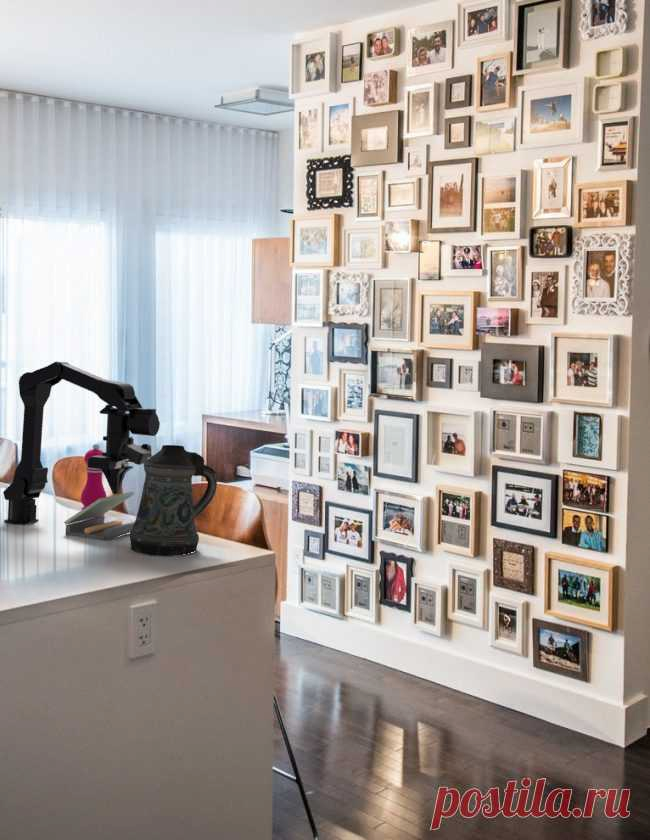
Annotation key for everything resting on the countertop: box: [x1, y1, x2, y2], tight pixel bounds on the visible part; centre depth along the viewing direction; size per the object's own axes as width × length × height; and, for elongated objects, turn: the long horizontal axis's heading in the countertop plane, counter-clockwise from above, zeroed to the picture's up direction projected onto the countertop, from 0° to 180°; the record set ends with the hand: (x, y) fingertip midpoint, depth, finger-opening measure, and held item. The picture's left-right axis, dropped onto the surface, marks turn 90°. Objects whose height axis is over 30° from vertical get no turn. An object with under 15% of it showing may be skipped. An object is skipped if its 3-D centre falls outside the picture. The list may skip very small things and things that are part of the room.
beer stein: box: [129, 444, 218, 557], centre depth 243 cm, size 16×19×25 cm
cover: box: [63, 491, 135, 526], centre depth 259 cm, size 12×16×1 cm
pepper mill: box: [80, 443, 108, 516], centre depth 285 cm, size 7×7×20 cm
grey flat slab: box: [65, 516, 135, 541], centre depth 259 cm, size 12×16×2 cm
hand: (115, 493), depth 258 cm, fingers closed
